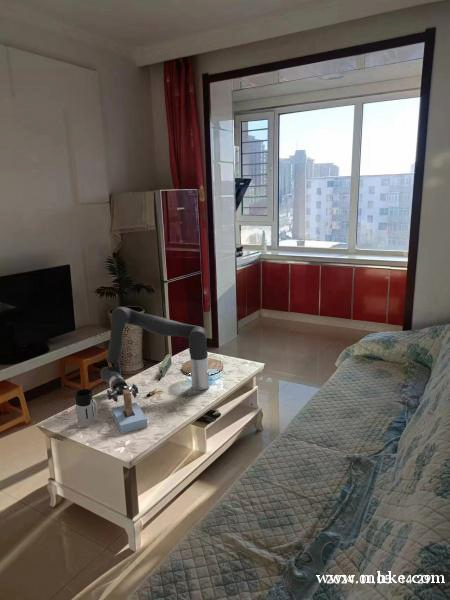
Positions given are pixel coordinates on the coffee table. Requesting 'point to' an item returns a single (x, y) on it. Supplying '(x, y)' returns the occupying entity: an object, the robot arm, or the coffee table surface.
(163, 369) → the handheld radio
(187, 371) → the trivet
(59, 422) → the coffee table surface
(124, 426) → the end cap
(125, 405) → the slat
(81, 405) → the white travel mug
